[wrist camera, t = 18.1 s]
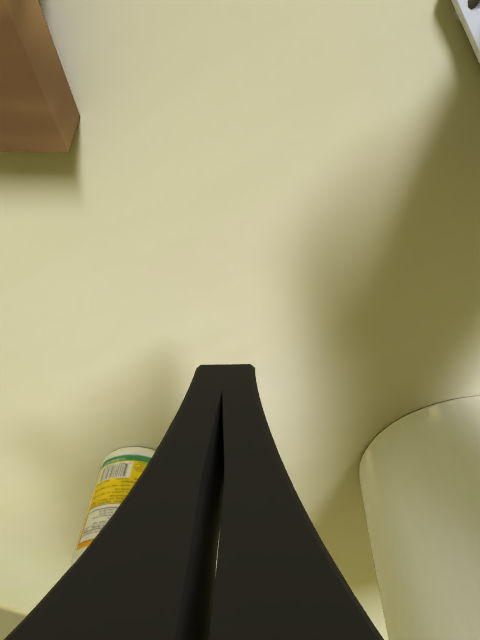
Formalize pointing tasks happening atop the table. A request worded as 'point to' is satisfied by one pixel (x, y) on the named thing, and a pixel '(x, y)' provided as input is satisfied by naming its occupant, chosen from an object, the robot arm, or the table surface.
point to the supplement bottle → (111, 490)
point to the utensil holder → (427, 521)
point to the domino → (32, 83)
